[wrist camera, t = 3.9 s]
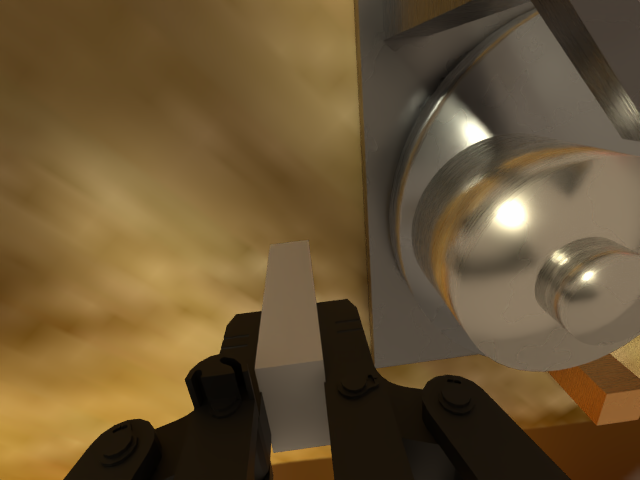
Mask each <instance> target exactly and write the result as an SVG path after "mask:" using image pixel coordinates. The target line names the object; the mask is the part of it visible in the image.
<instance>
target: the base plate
mask: <svg viewBox="0 0 640 480" xmlns="http://www.w3.org/2000/svg"><path fill="white" fill-rule="evenodd" d="M533 9H535V7H534V5H533V4H532V2H528V3H525V4H522V5H519V6H516V7H513V8H510V9H507V10H504V11H501V12H498V13H495V14H492V15H489V16H486V17H483V18H481V19H478V20H475V21H472V22H469V23H466V24H463V25H460V26H457V27H454V28H451V29H448V30H445V31H442V32H439V33H436V34H433V35H430V36H420V37H411V38H401V39H392V40H384V30H383V0H354V16H355V36H356V56H357V76H358V96H359V116H360V136H361V156H362V176H363V197H364V217H365V237H366V257H367V277H368V297H369V317H370V337H371V357H372V360H373V363H374V366H375V368H382V367H389V366H396V365H403V364H411V363H418V362H425V361H432V360H440V359H447V358H454V357H461V356H468V355H476V354H478V353H476V352H473V351H471V350H468V349H466V348H464V347H462V346H461V345H459V344H457V343H456V342H454V341H452V340H451V339H449V338H448V337H447V336H446V335H445V334H443V333H442V332H441V331H440V330H439V329H437V328H436V327H435V325H434V324H433V323H432V322H431V321H430V320H429V319H428V317H427V316H426V315H425V314H424V312H423V311H422V309H421V307H420V306H419V304H418V302H417V301H416V299H415V298H414V296H413V294H412V292H411V291H410V289H409V287H408V286H407V284H406V282H405V281H404V279H403V277H402V275H401V272H400V270H399V268H398V265H397V263H396V260H395V256H394V252H393V248H392V244H391V237H390V226H389V210H390V196H391V190H392V185H393V179H394V174H395V171H396V168H397V164H398V161H399V158H400V155H401V152H402V149H403V147H404V144H405V142H406V140H407V138H408V136H409V133H410V131H411V129H412V127H413V125H414V123H415V121H416V120H417V118H418V116H419V114H420V113H421V111H422V109H423V108H424V106H425V104H426V103H427V101H428V100H429V98H430V97H431V96H432V94H433V93H434V92H435V90H436V89H437V88H438V86H439V85H440V84H441V83H442V81H443V80H444V79H445V77H446V76H447V75H448V74H449V73H450V72H451V71H452V70H453V69H454V68H455V67H456V66H457V64H458V63H459V62H460V61H461V60H462V59H463V58H464V57H465V56H466V55H467V54H468V53H469V52H471V51H472V50H473V49H474V48H475V47H477V46H478V45H479V44H480V43H481V42H483V41H484V40H485V39H486V38H487V37H489V36H490V35H491V34H492V33H494V32H495V31H497V30H498V29H500V28H501V27H503V26H505V25H506V24H508V23H509V22H511V21H512V20H514V19H515V18H517V17H519V16H521V15H523V14H525V13H527V12H529V11H531V10H533Z"/></svg>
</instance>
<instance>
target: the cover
mask: <svg viewBox="0 0 640 480" xmlns="http://www.w3.org/2000/svg"><path fill="white" fill-rule="evenodd" d="M411 236H412V247H413V252H414V255H415V258H416V261H417V263H418V265H419V267H420V268H421V270H422V272H423V273H424V275H425V276H426V277H427V279H428V280H429V282H430V283H431V284H432V286H433V287H434V289H435V290H436V291H437V293H438V294H439V296H440V297H441V298H442V300H443V301H444V303H445V304H446V305H447V307H448V308H449V310H450V311H451V312H452V314H453V315H454V317H455V318H456V319H457V321H458V322H459V324H460V325H461V326H462V328H463V329H464V331H465V332H466V333H467V335H468V336H469V337H470V339H471V340H472V342H473V343H474V344H475V345H476V346H477V348H478V349H479V350H480V351H481V352H483V353H484V354H485V355H486V356H487V357H489V358H491V359H492V360H494V361H496V362H497V363H500V364H502V365H505V366H507V367H510V368H514V369H518V370H525V371H543V372H544V371H555V370H562V369H567V368H572V367H575V366H579V365H582V364H586V363H588V362H591V361H594V360H596V359H599V358H601V357H603V356H605V355H607V354H609V353H611V352H613V351H615V350H617V349H618V348H620V347H622V346H624V345H625V344H627V343H628V342H630V341H631V340H633V339H634V338H635V337H637V336H638V335H640V156H635V155H630V154H625V153H620V152H615V151H611V150H606V149H601V148H596V147H591V146H587V145H582V144H577V143H572V142H567V141H562V140H558V139H553V138H548V137H543V136H538V135H534V134H525V133H509V134H503V135H497V136H493V137H490V138H487V139H484V140H481V141H479V142H477V143H475V144H473V145H471V146H469V147H467V148H466V149H464V150H462V151H461V152H459V153H458V154H456V155H455V156H454V157H453V158H451V159H450V160H449V161H448V162H447V163H446V164H445V165H444V166H443V167H442V168H440V169H439V171H438V172H437V173H436V174H435V175H434V177H433V178H432V179H431V180H430V182H429V183H428V185H427V187H426V188H425V190H424V191H423V193H422V195H421V197H420V199H419V202H418V204H417V207H416V210H415V213H414V218H413V222H412V233H411Z"/></svg>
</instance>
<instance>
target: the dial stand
mask: <svg viewBox="0 0 640 480" xmlns="http://www.w3.org/2000/svg"><path fill="white" fill-rule="evenodd" d="M528 2H532V4H533V5H534V7H535V8H536V10H537V11H538V13H539V14H540V16H541V17H542V19H543V20H544V22H545V23H546V25H547V26H548V28H549V29H550V31H551V32H552V34H553V35H554V37H555V38H556V40H557V41H558V43H559V44H560V46H561V47H562V49H563V50H564V52H565V53H566V55H567V56H568V58H569V59H570V61H571V62H572V64H573V65H574V67H575V68H576V70H577V71H578V73H579V74H580V76H581V77H582V79H583V80H584V82H585V83H586V85H587V86H588V88H589V89H590V91H591V92H592V94H593V95H594V97H595V98H596V100H597V101H598V103H599V104H600V106H601V107H602V109H603V110H604V112H605V114H606V115H607V117H608V118H609V120H610V121H611V123H612V124H613V126H614V127H615V129H616V130H617V132H618V133H619V135H620V136H621V138H622V139H627V140H633V141H639V142H640V2H639V0H383V30H384V40H392V39H401V38H411V37H420V36H430V35H433V34H436V33H439V32H442V31H445V30H448V29H451V28H454V27H457V26H460V25H463V24H466V23H469V22H472V21H475V20H478V19H481V18H483V17H486V16H489V15H492V14H495V13H498V12H501V11H504V10H507V9H510V8H513V7H516V6H519V5H522V4H525V3H528Z"/></svg>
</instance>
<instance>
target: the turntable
mask: <svg viewBox="0 0 640 480" xmlns="http://www.w3.org/2000/svg"><path fill="white" fill-rule="evenodd" d="M639 2H640V0H639ZM509 133H525V134H534V135H538V136H543V137H548V138H553V139H558V140H562V141H567V142H572V143H577V144H582V145H587V146H591V147H596V148H601V149H606V150H611V151H615V152H620V153H625V154H630V155H635V156H640V142H639V141H633V140H627V139H622V138H621V136H620V135H619V133H618V132H617V130H616V129H615V127H614V126H613V124H612V123H611V121H610V120H609V118H608V117H607V115H606V114H605V112H604V110H603V109H602V107H601V106H600V104H599V103H598V101H597V100H596V98H595V97H594V95H593V94H592V92H591V91H590V89H589V88H588V86H587V85H586V83H585V82H584V80H583V79H582V77H581V76H580V74H579V73H578V71H577V70H576V68H575V67H574V65H573V64H572V62H571V61H570V59H569V58H568V56H567V55H566V53H565V52H564V50H563V49H562V47H561V46H560V44H559V43H558V41H557V40H556V38H555V37H554V35H553V34H552V32H551V31H550V29H549V28H548V26H547V25H546V23H545V22H544V20H543V19H542V17H541V16H540V14H539V13H538V11H537V10H536V8H535V9H533V10H531V11H529V12H527V13H525V14H523V15H521V16H519V17H517V18H515V19H514V20H512V21H511V22H509V23H508V24H506V25H505V26H503V27H501V28H500V29H498V30H497V31H495V32H494V33H492V34H491V35H490V36H489V37H487V38H486V39H485V40H484V41H483V42H481V43H480V44H479V45H478V46H477V47H475V48H474V49H473V50H472V51H471V52H469V53H468V54H467V55H466V56H465V57H464V58H463V59H462V60H461V61H460V62H459V63H458V64H457V66H456V67H455V68H454V69H453V70H452V71H451V72H450V73H449V74H448V75H447V76H446V77H445V79H444V80H443V81H442V83H441V84H440V85H439V86H438V88H437V89H436V90H435V92H434V93H433V94H432V96H431V97H430V98H429V100H428V101H427V103H426V104H425V106H424V108H423V109H422V111H421V113H420V114H419V116H418V118H417V120H416V121H415V123H414V125H413V127H412V129H411V131H410V133H409V136H408V138H407V140H406V142H405V144H404V147H403V149H402V152H401V155H400V158H399V161H398V164H397V168H396V171H395V174H394V179H393V185H392V190H391V196H390V210H389V226H390V237H391V244H392V248H393V252H394V256H395V260H396V263H397V265H398V268H399V270H400V272H401V275H402V277H403V279H404V281H405V282H406V284H407V286H408V287H409V289H410V291H411V292H412V294H413V296H414V298H415V299H416V301H417V302H418V304H419V306H420V307H421V309H422V311H423V312H424V314H425V315H426V316H427V317H428V319H429V320H430V321H431V322H432V323H433V324H434V325H435V327H436V328H437V329H439V330H440V331H441V332H442V333H443V334H445V335H446V336H447V337H448V338H449V339H451V340H452V341H454V342H456V343H457V344H459V345H461V346H462V347H464V348H466V349H468V350H471V351H473V352H476V353H478V354H480V355H483V356H486V355H485V354H484V353H483V352H481V351H480V350H479V349H478V348H477V346H476V345H475V344H474V343H473V342H472V340H471V339H470V337H469V336H468V335H467V333H466V332H465V331H464V329H463V328H462V326H461V325H460V324H459V322H458V321H457V319H456V318H455V317H454V315H453V314H452V312H451V311H450V310H449V308H448V307H447V305H446V304H445V303H444V301H443V300H442V298H441V297H440V296H439V294H438V293H437V291H436V290H435V289H434V287H433V286H432V284H431V283H430V282H429V280H428V279H427V277H426V276H425V275H424V273H423V272H422V270H421V268H420V267H419V265H418V263H417V261H416V258H415V255H414V252H413V247H412V236H411V233H412V222H413V218H414V213H415V210H416V207H417V204H418V202H419V199H420V197H421V195H422V193H423V191H424V190H425V188H426V187H427V185H428V183H429V182H430V180H431V179H432V178H433V177H434V175H435V174H436V173H437V172H438V171H439V169H440V168H442V167H443V166H444V165H445V164H446V163H447V162H448V161H449V160H450V159H451V158H453V157H454V156H455V155H456V154H458V153H459V152H461V151H462V150H464V149H466V148H467V147H469V146H471V145H473V144H475V143H477V142H479V141H481V140H484V139H487V138H490V137H493V136H497V135H503V134H509ZM548 372H549V373H550V375H551V376H552V377H553V378H554V379H555V380H556V381H557V382H558V383H559V385H560V386H561V387H562V388H563V389H564V390H565V391H566V392H567V393H568V394H569V396H570V397H571V398H572V399H573V400H574V401H575V402H576V403H577V404H578V406H579V407H580V408H581V409H582V410H583V411H584V412H585V413H586V414H587V416H588V417H589V418H590V419H591V420H592V421H593V422H594V423H595V424H596V425H604V424H611V423H618V422H624V421H631V420H638V419H639V416H640V379H639V378H638V377H637V376H636V375H634V374H633V373H632V372H631V371H630V370H628V369H627V368H626V367H625V366H624V365H623V364H621V363H620V362H619V361H618V360H617V359H615V358H614V357H613V356H612V355H611V354H607V355H605V356H603V357H601V358H599V359H596V360H594V361H591V362H588V363H586V364H582V365H579V366H575V367H572V368H567V369H562V370H555V371H548Z"/></svg>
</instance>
